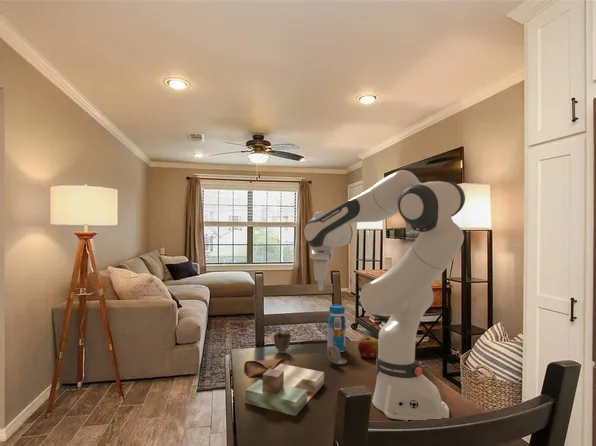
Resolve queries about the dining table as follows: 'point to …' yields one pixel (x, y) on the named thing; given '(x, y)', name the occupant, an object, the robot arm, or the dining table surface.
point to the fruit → (368, 347)
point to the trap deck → (287, 390)
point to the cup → (282, 342)
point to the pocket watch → (335, 355)
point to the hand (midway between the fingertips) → (320, 290)
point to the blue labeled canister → (337, 327)
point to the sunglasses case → (262, 366)
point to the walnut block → (273, 381)
